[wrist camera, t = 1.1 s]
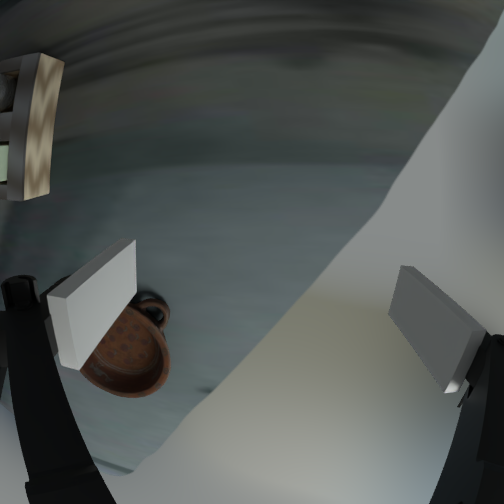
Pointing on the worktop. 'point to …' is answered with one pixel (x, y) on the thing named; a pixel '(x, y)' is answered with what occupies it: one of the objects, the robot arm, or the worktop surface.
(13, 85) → the metal peg
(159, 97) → the worktop surface
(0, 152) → the sage peg
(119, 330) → the dish
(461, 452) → the robot arm
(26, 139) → the socket block
